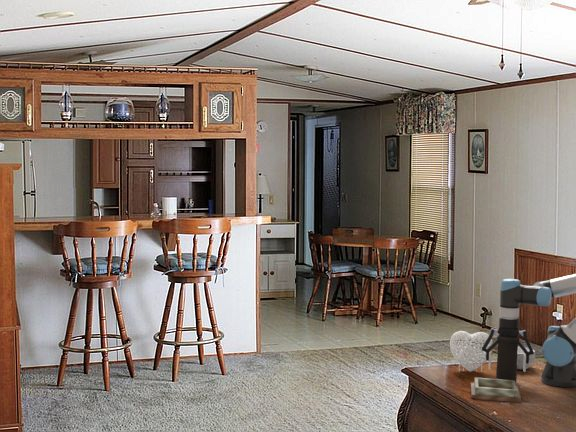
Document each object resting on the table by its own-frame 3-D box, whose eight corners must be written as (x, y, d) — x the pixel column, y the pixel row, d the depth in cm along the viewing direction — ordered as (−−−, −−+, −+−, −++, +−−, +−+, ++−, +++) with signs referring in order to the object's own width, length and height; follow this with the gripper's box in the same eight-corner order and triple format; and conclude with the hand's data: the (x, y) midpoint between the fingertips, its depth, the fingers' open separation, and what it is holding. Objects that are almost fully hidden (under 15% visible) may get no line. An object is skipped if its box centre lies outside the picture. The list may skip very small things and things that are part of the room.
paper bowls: (491, 364, 378) (492, 346, 377) (519, 362, 384) (520, 344, 383) (513, 372, 364) (514, 354, 364) (542, 370, 370) (542, 352, 370)
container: (515, 381, 349) (517, 333, 348) (518, 387, 340) (521, 337, 339) (493, 380, 350) (495, 332, 348) (496, 386, 341) (498, 336, 339)
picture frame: (517, 389, 336) (518, 379, 336) (520, 402, 319) (521, 391, 318) (470, 386, 340) (471, 376, 339) (471, 398, 322) (471, 388, 322)
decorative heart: (448, 373, 360) (450, 332, 359) (448, 367, 371) (449, 328, 370) (492, 375, 358) (494, 335, 356) (490, 369, 368) (492, 330, 367)
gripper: (540, 317, 344) (538, 369, 346) (477, 314, 349) (474, 365, 351) (542, 321, 337) (539, 374, 338) (477, 317, 342) (475, 369, 343)
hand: (506, 369), depth 344 cm, fingers open, 13 cm apart
